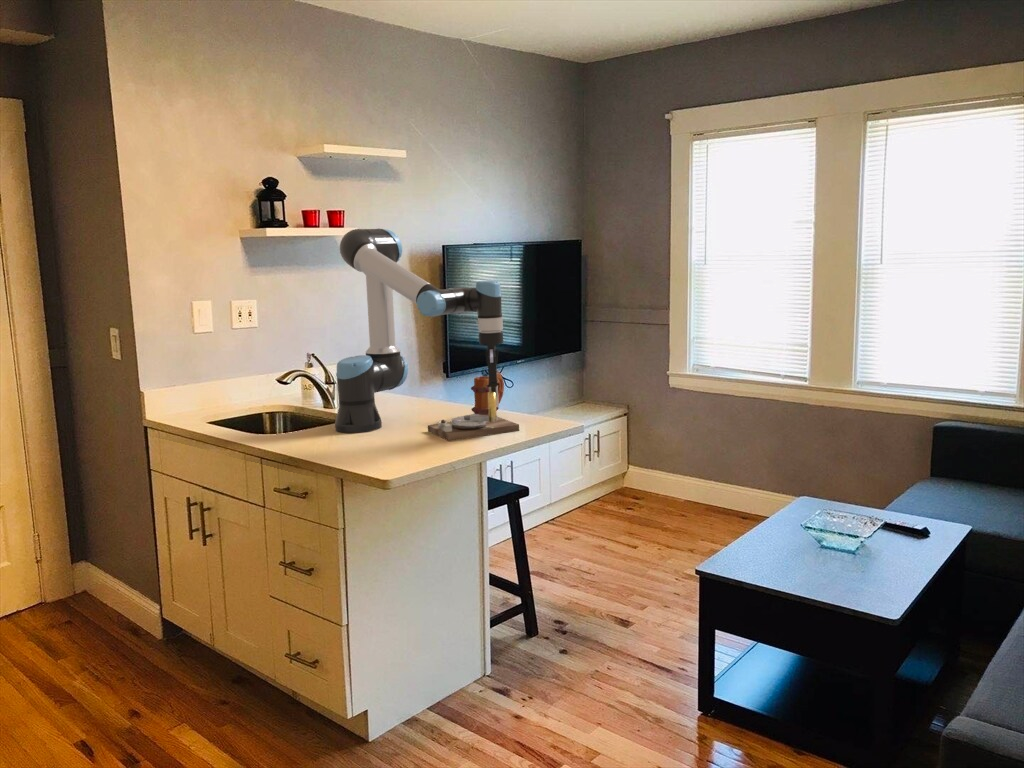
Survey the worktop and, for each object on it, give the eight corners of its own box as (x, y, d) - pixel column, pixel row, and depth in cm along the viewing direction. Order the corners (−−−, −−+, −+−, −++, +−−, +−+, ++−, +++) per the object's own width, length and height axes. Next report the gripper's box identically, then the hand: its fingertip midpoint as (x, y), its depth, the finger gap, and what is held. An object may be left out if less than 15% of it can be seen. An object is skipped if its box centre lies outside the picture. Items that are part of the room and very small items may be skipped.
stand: (428, 431, 264) (427, 416, 264) (495, 421, 275) (494, 406, 274) (449, 441, 249) (448, 425, 248) (519, 430, 260) (519, 415, 259)
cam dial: (444, 427, 258) (442, 392, 256) (465, 420, 267) (463, 386, 265) (486, 431, 250) (484, 395, 248) (505, 424, 259) (504, 389, 257)
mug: (485, 422, 275) (483, 377, 273) (467, 420, 280) (465, 376, 277) (512, 414, 286) (510, 371, 284) (494, 412, 291) (492, 370, 289)
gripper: (479, 329, 260) (483, 403, 264) (477, 334, 247) (481, 411, 251) (503, 328, 260) (506, 402, 264) (502, 333, 247) (506, 410, 251)
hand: (494, 406), depth 258 cm, fingers closed
